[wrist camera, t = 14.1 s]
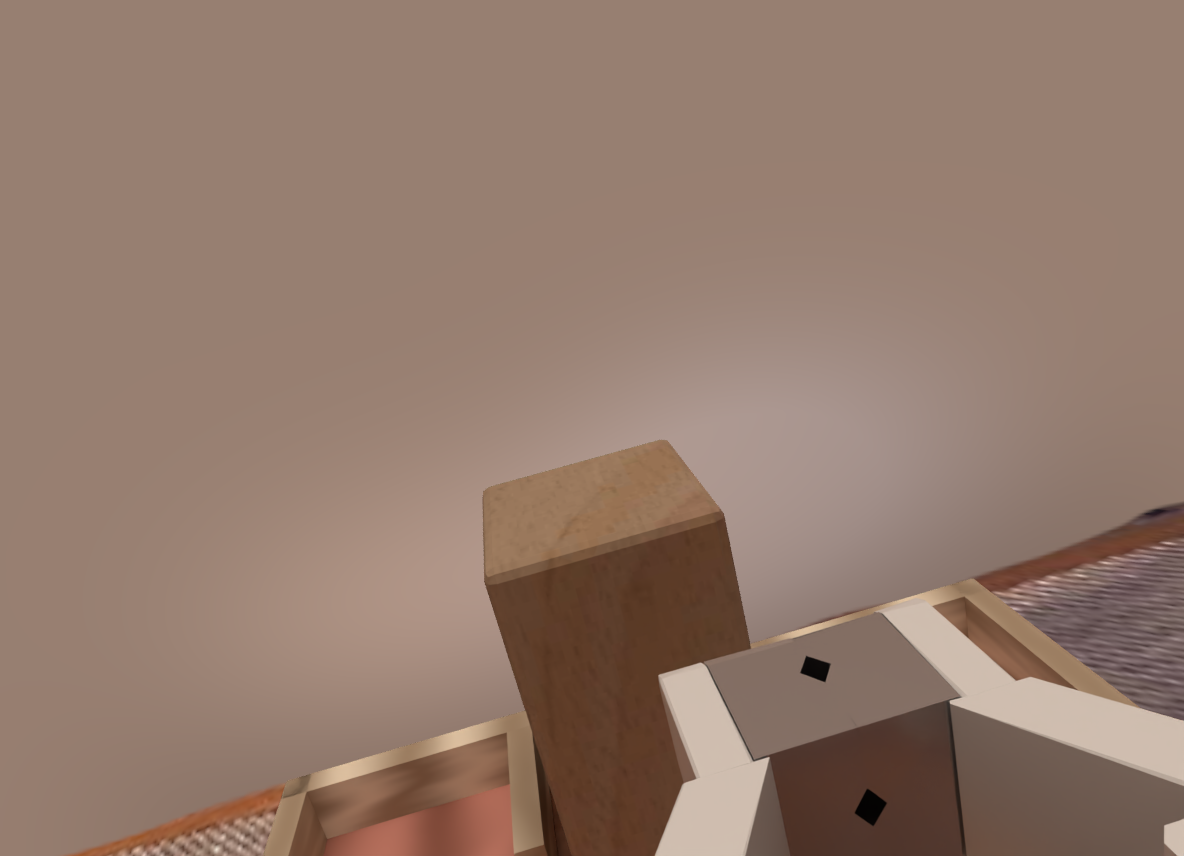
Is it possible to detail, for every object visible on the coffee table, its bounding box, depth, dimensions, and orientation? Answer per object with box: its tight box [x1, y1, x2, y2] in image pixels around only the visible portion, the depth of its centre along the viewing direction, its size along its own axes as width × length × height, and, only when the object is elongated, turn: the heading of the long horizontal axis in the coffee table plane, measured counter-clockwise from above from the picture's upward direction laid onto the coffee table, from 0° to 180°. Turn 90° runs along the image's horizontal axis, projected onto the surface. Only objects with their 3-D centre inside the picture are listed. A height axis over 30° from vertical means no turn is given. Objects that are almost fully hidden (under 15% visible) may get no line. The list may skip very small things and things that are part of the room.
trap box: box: [263, 578, 1141, 856], centre depth 38 cm, size 44×23×4 cm, turn 98°
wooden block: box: [483, 440, 751, 856], centre depth 39 cm, size 10×10×20 cm
